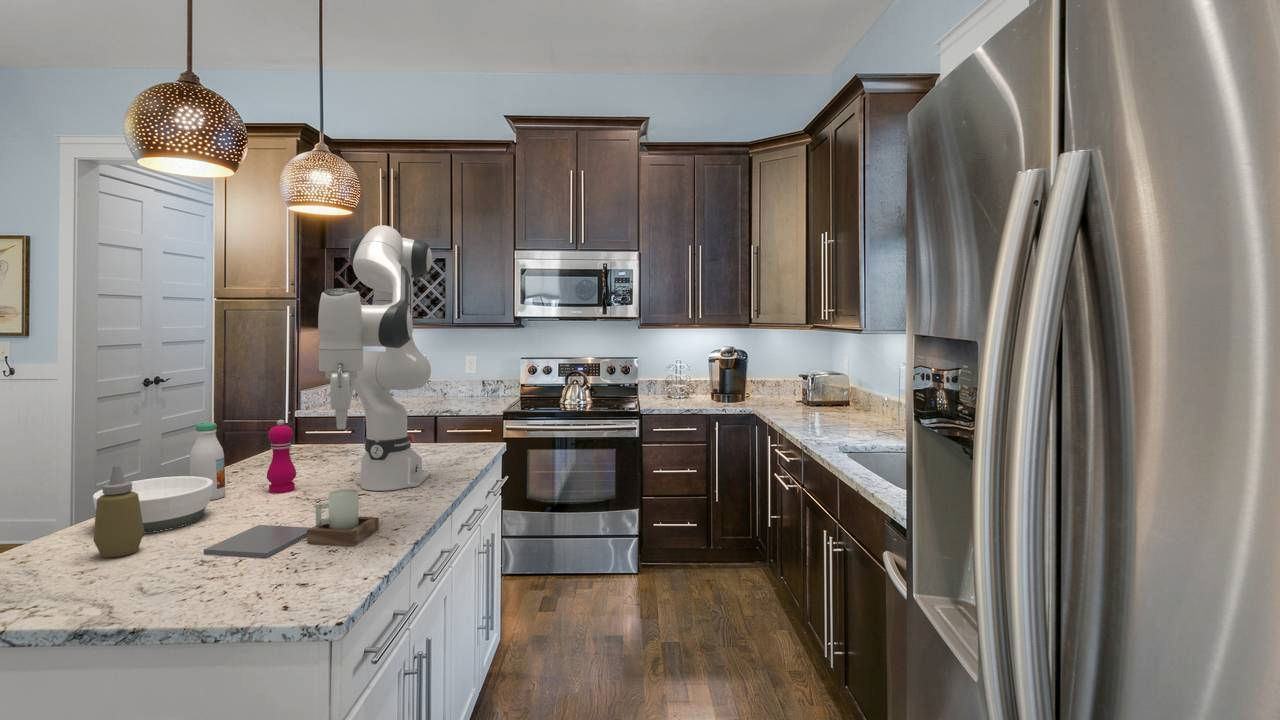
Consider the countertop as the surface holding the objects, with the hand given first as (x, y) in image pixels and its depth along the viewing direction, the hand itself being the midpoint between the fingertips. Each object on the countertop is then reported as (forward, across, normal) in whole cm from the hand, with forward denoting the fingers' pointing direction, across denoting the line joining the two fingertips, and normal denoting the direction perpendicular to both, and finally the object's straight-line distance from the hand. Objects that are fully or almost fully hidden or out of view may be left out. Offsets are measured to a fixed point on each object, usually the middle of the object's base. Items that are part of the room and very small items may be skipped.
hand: (342, 425), depth 140 cm
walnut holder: (+25, 0, 0) cm, 25 cm away
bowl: (+25, +27, +41) cm, 55 cm away
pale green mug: (+25, 0, +1) cm, 25 cm away
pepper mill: (+25, +48, +17) cm, 57 cm away
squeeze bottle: (+25, +6, +42) cm, 49 cm away
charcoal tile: (+25, +2, +16) cm, 30 cm away
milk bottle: (+25, +46, +34) cm, 63 cm away
